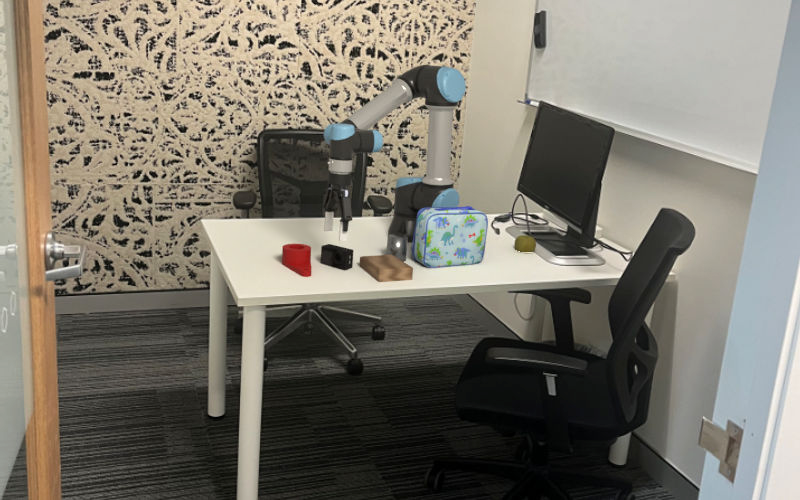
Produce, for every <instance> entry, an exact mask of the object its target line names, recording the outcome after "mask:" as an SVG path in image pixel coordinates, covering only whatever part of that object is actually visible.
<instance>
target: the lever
mask: <svg viewBox="0 0 800 500" xmlns="http://www.w3.org/2000/svg"><path fill="white" fill-rule="evenodd" d="M281 251H282V254H281V264H282V266H284V267H285V268H287V269H289V270H290V271H292V272H294V273H295V274H297V275H298V276H300V277H303V278H310V277H312V261H311V259H312V257H311V256H312V247H311V245H309V244H308V245H307V244H304V243H287V244H284V245H282V250H281Z"/></svg>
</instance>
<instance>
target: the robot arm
mask: <svg viewBox="0 0 800 500" xmlns="http://www.w3.org/2000/svg"><path fill="white" fill-rule="evenodd" d="M466 84H467V83H466V79H465V77H464V75H463V74H462V73H461V71H460V70H458V68H455V67H450V66H444V65H443V66H442V65H431V64H420V65H417V66H414V67H412V68H410V69H408V70H407V71H405V72H404V73H402V74H400V75H398V76H397V77H396V78H394V79H393V80H392V82H391V85H390V86H389V87H387V88H386V89H384V90H383V91H382V92H380V93H379V94H378V95H376V96H375V97H374V98H372V99H370V100H369V101H368V102H367V103H366V104H365V105H362V107H360V108H359V109H358V110H356V111H354V112H353V113H352V114H351V115H349V116H348V117H346V118H345V119H344V120H342V121H341V122H339V123H330V124H328V125H327V126H326V127H325V129H324V131H323V139H324V141H325V142H326V143H327V144H328V146H329V153H328V154H329V156H328V157H329V158H328V161H327V165H328V173H327V188H326V193H325V197H324V200H323V204H322V208H323V209H324V212H325V215H324V226H323V227H324V232H333V229H334V214H335V209H334V208H335V206H336V204H337V205H338V208H339V215H340V219H339V233H338V235H339V236H338V241H339V242H348V241H349V240H348V239H349V224H350V222H352V221H353V213H352V212H353V211H352V205H351V190H350V189H347V186H350V185H351V183H352V174H351V172H353V171H352V169H353V156H354V154H374V153H378V152H380V151H381V150H382V148H383V146H384V138H383V135H382V133H381V132H380V131H379V130H375V129H371V128H372V127H373V126H375V125H376V124H377V123H379V122H381V121H382V120H383V119H384V118H386V117H387V116H388V115H390V114H391V113H392V112H393V111H395V110H396V109H397V108H399V107H400V106H402V105H403V104H405V103H406V104H407V103H408V104H409V103H410V102H411V101H414V100H416V99H421V98H423V99H424V106H425V107H426V108H427V109H428V125H427V127H428V128H427V145H426V146H427V147H426V148H427V149H426V150H427V151H426V168H425V169H426V171H425V172H426V174H425V176H404V177H399V178H398V179H396V183H395V188H394V189H395V190H394V206H393V207H394V208H393V217H392V220H391V222H390V224H389V226H388V229H387V236H388V235H391V234H400V235H405V236H407V237H408V241H407V242H413V237H414V230H415V225H416V218H417V214H418V212H419V210H420V209H422V208H427V207H459V205H460V194H459V193H458V191H457V190H456V189H455V188H454V183H455V181H454V180H453V179H452V178H451V162H452V161H451V156H452V143H453V142H452V139H453V121H454V118H453V117H454V110H455V109H457V108H458V106H459V102H460V101H461V100H462V99H463V96H465V94H466V89H467V85H466Z"/></svg>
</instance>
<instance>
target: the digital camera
mask: <svg viewBox="0 0 800 500" xmlns="http://www.w3.org/2000/svg"><path fill="white" fill-rule="evenodd" d="M320 247H321V248H320V249H321V250H320V264H321V265H325V266H328V267H331V268H334V269H338V270H341V271H344V272H345V271H348V270H350V269H352V268H353V265H354V249H350V248H347V247H344V246H338V245H336V244H332V243H331V244H330V243H328V244H327V243H326V244H323V245H321V246H320Z"/></svg>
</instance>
